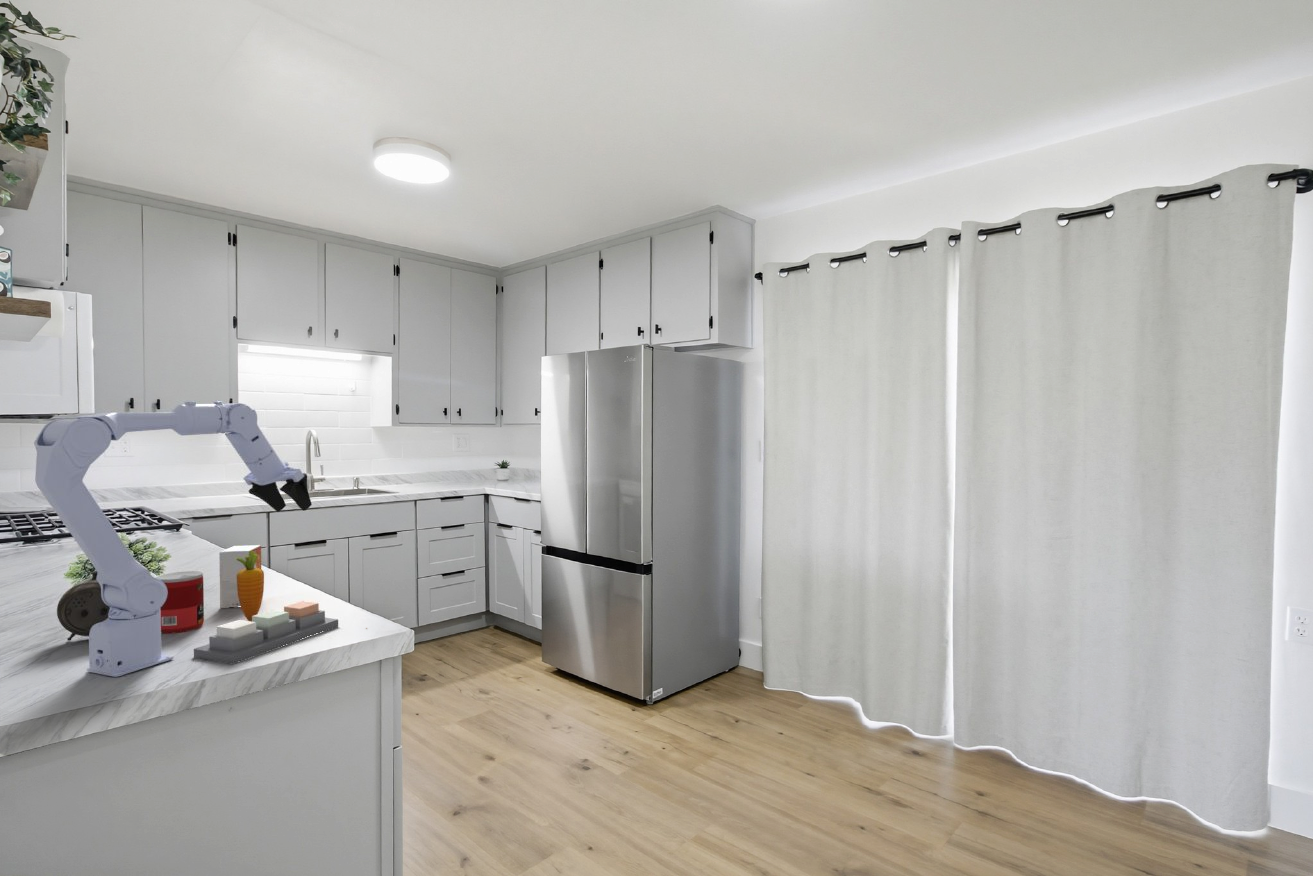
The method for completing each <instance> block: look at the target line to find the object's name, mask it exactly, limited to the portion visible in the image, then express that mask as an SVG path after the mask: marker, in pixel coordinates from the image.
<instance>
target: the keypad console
mask: <svg viewBox="0 0 1313 876" xmlns="http://www.w3.org/2000/svg"><path fill="white" fill-rule="evenodd" d="M325 613H326V610H320V609H319V612H317V613H314V614H311V615H307V616H304V617H301V618H298V617H290V616H289V622H286V623H282V624H279V625H276V626H273V627H270V628H265V627H259V626H256V632H254V633H251V634H248V635H245V636H242V637H239V638H235V639H229V638H223V637H217V633H216V634H213V635H211V636H209V638H208V639H209V642H208V644H205V645H204V644H203V645H202V646H199V647H195V648H193V658H197V659H201V660H208V661H214V662H219V661H220V662H219V663H226V664H230V663H232V664H231V665H234V663H235V664H237V663H239V662H238V661H240V662H243V661H246V660H248V658H249V659H250V658H254V657H257V656H260V655H262V653H263V654H265V653H267V651H268V652H271V651H274V650H276V648H277V649H279V648H278V647H280V648H282V647H284V646H283V645H285V646H287V645H286V644H288V645H290V643H291V644H293V643H292V642H294V643H296V642H298V641H297V640H299V641H301V640H300V639H302V638H305V637H307V636H310V635H313V636H315V635H314V634H316V633H319V634H321V633H320V632H322V631H325V632H327V631H329V630H328V629H330V630H332V628H333V629H335V628H338V627H339V619H338V618H331V617H326V614H325ZM326 630H327V631H326ZM322 633H323V632H322ZM316 635H317V634H316ZM310 637H311V636H310ZM305 639H306V638H305ZM302 640H303V639H302ZM295 641H296V642H295ZM281 646H282V647H281ZM273 649H274V650H273ZM270 650H271V651H270ZM259 654H260V655H259ZM253 656H254V657H253ZM245 659H246V660H245Z"/></svg>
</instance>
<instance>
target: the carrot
mask: <svg viewBox="0 0 1313 876" xmlns="http://www.w3.org/2000/svg"><path fill="white" fill-rule="evenodd" d="M249 556H250V559H249V557H248V556H245V559H246V561H244V560H243V559H242V558H239V557H238V558H237V560H238V561H240V562H241V563H243V564H244V566H245V567H246V569H243V570H241V571H239V572H238V573H237V591H238V598H239V602H240V606H241V607H240V609H241V611H242V613H243V615H244V617H245V618H246V621H251V622H252V616H254V615H257V614H259V611H260V609H261V606H262V603H263V597H264V588H265V587H264V585H265V571H264V570H263V569H262V568H261V569H259V568H254V564H255V562H256V559H257V557H258V555H257V554H254V551H249Z"/></svg>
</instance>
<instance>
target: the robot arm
mask: <svg viewBox="0 0 1313 876" xmlns="http://www.w3.org/2000/svg"><path fill="white" fill-rule="evenodd" d="M160 430H173V431H174V432H175V433H176V434H178V435H180V436H197V435H212V434H213V435H215V434H224V435H225V437H226V438H227V440H228V441H229V442H230V444H231V445H232V447H233V448H234V450H235V451H236V453H237V454H238V455H239V457H240V459H241V460H242V461H243V463H244V464H245V466H246V467H247V469H248V470H249V471H250V472H249V473H247V474H246V475H245V476H244V477H243V480H244V482H245V483H246V484H247V486H252V487H251V488H250V489H249V490H248V493H249V494H250V495H253V496H255V497H257V498H258V499H260V500H262V501H263V502H265V503H266V504H267V505H269V506H270V507H271V508H272V509H273V510H274V511H276V512H278V513H279V512H281V511H282V510H283V509H284V508H285V507H286V506H287V504H286V502H285V499H284V498H283V496H282V494H281V492H283V493H284V494H286V495H287V496H289V498H290V499H292V500H293V501H294V503H295V504H296V505H297V506H298V507H299V508H300V509H301V510H302V511H307V510H308V509H309V508H310V507H311V506H312V500H311V496H310V493H309V489H308V488H309V487H308V475H307V473H306V472H304V473H303V472H302V470H301V469H300V468H294V467H290V466H289V463H288V461H286V462H283V461H282V460H281V458H280V457H279V455H278V454H277V452H276V451H275V449H274V448H273V447H272V444H270V442H269V441H268V439H267V438H266V436H265V435H264V432H263V431H262V430H261V428H260V426H259V425H258V414H257V411H256V410H255V409H252V408H251V407H250V406H248V405H247V404H245V403H223V401H213V403H197V402H196V401H195V400H192V401H191V400H190V401H184V403H183V404H178V405H176V406H175V407H174V408H173V409H172V410H170V411H166V412H165V411H164V412H163V411H161V412H160V411H159V412H157V411H155V412H154V411H153V412H150V411H149V412H148V411H147V412H144V411H142V412H137V411H136V412H134V411H132V412H131V411H130V412H125V411H124V412H119V411H118V412H103V413H94V414H87V415H79V416H75V417H74V418H67V417H65V418H57V419H54V420H50V421H48V422H47V423H46V424H45V425H44V426H43V428H42V429H41V431H40V432H39V434H38V435H37V437H36V438H35V440H34V442H33V444H34V446H35V451H36V458H35V459H36V460H35V461H36V463H35V474H34V475H35V477H34V480H35V481H34V482H35V484H36V486H37V488H38V489H39V490H40V492H41V493H42V494H43V496H44V497H45V499H46V501H47V502H48V504H49V505H50V507H52V509H53V510H54V512H55V513H56V515H57V517H58V518H59V519H60V521H61V522H62V523H63V525H64V526H65V527H66V529H67V531H68V532H69V533H70V535H71V536H72V538H73V539H74V540H75V542H76V543H77V545H78V546H79V548H80V549H81V550H82V552H83V553H84V555H85V556H86V557H87V560H88V559H89V561H90V563H91V564H92V566H93V567H94V570H95V571H97V572H98V574H97V578H96V579H97V581H98V583H99V584H100V586H101V596H102V600H103V601H104V603H105V604H106V605H108V606H109V607H110V610H109V614H108V617H109V618H107V619H106V620H104V621H103V622H100V623H97V624H95V625H93V626H92V628H91V630H90V633H89V637H88V657H89V658H88V661H89V662H88V663H89V665H88V666H89V667H88V668H86V671H87V672H89V673H95V674H99V675H102V676H103V675H104V676H109V677H113V678H117V677H121V676H124V675H127V674H129V673H130V674H131V673H132V672H137V671H139V670H142V669H146V668H149V667H152V666H156V665H158V664H161V663H164V662H167V661H171V660H173V659H174V656H173V655H171V654H163V653H162V633H161V611H160V610H161V609H160V607H161V606H162V605H163V604H164V603H165V601H166V598H167V593H168V591H167V587H166V585H165V584H164V583H163V582H162V581H161V580H159V579H157V577H155V576H153V574H151V573H150V572H149V570H148V569H147V568H146V567H145V566H144V565H143V564H142V563H140V562H139V561H138V560H136V559H135V558H134V557H133V555H132V553H131V551H130V550H129V549H128V547H127V546H126V545H125V543H124V542H123V540H122V539H121V537H120V535H119V534H118V533H117V531H116V530H115V528H114V526H113V525H112V524H111V522H110V520H109V519H108V518H107V516H106V514H105V513H104V511H103V509H101V508H102V507H100V505H99V504H98V502H97V501H96V499H95V498H94V497H93V495H92V493H91V492H90V491H89V489H88V487H87V486H86V485H85V483H84V482H83V479H84V478H85V476H86V474H87V472H88V470H89V468H90V467H91V465H92V464H93V463H94V462H95V461H96V460H97V459H98V458H100V456H101V455H103V454H104V453H105V452H106V450H108V448H109V446H110V444H112V443H111V442H112V441H119V440H120V439H121V438H122V437H123V436H124V435H125V434H127V433H130V432H131V433H132V432H144V431H147V432H148V431H160ZM277 482H285V483H284V485H282V486H281V487H280V488H278V485H277ZM280 491H281V492H280Z"/></svg>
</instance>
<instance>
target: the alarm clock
mask: <svg viewBox="0 0 1313 876" xmlns="http://www.w3.org/2000/svg"><path fill="white" fill-rule="evenodd" d="M89 561H90V560H89V559H88V558H87V560H85V561H84V563H83V570H84V571H85V573H87V574H91V575H92V576H91V577H88V578H85V579H83V580H80V581H79V582H77V583H75V584H74V585H73V586H71V588H69V589H68V590H67V591H65V593H64V594H63V595H62V596H61V598H60V599H59V601H58V603H57V608H56V616H57V620H58V622H59V624H60V625H61V626H62V627H63V628H64V629H65V630H66V631H67V632H69V633H71V634H70V636H69V637H68V638H66V639H67V641H72V639H73V638H74V637H75V636H76V635H77V636H80V637H87V638H89V633H90V630H91V628H92V626H93V625H95V624H97V623H100V622H103V621H104V620H106V619H107V618H109V617H108V614H109V610H110V607H109V606H108V605H106V604H105V603H104V601H103V600H102V596H101V586H100V584H99V583H98V581H97V579H96V578H97V574H98V572H97V570H93V571H92V572H91V571H89V570H87V567H86V564H87V563H88V562H89Z"/></svg>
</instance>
